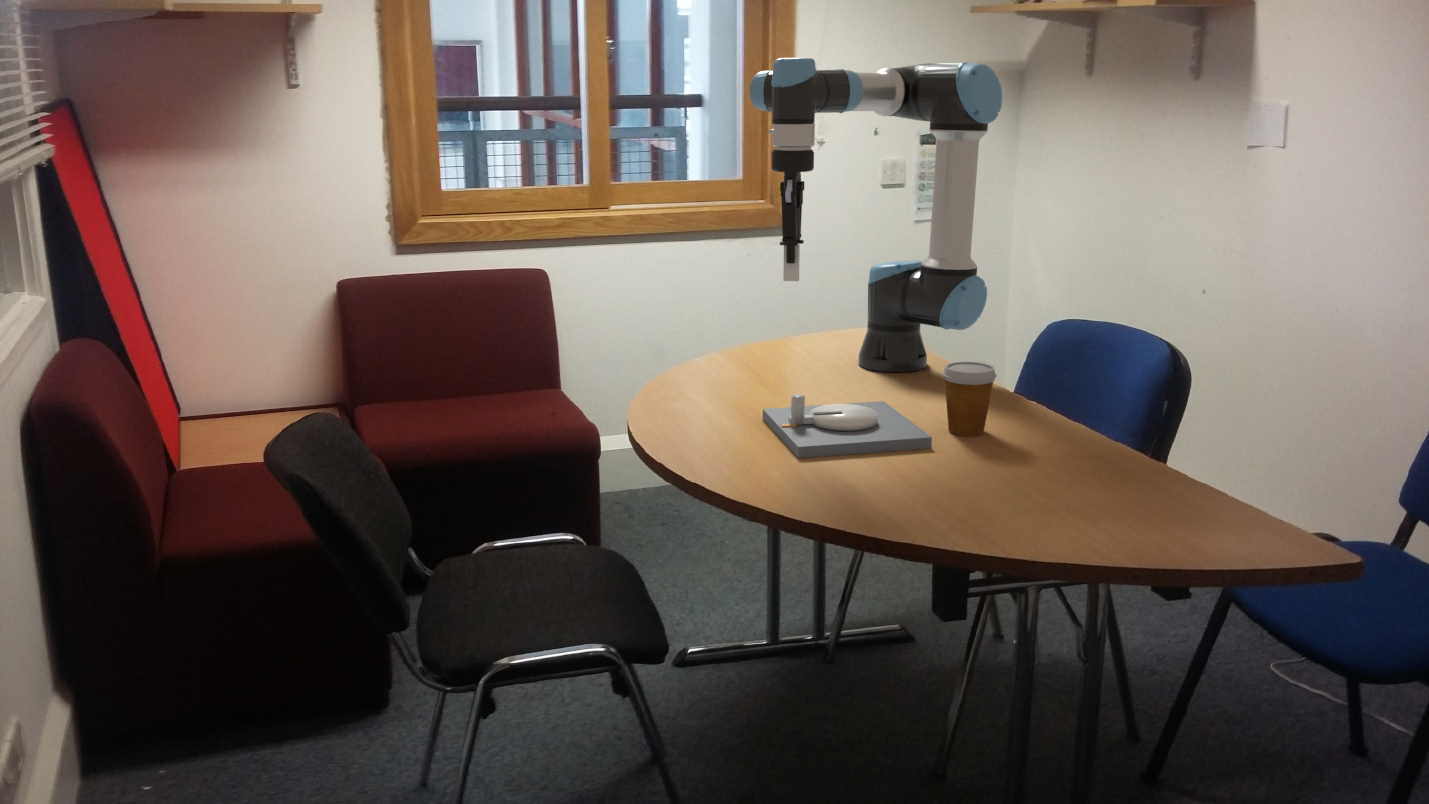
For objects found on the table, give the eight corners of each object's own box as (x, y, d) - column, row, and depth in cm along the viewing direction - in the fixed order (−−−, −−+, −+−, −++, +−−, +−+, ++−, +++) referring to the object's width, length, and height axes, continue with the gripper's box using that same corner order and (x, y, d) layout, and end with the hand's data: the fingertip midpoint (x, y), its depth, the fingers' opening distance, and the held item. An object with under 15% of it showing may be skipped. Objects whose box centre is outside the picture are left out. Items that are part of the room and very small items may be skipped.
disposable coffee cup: (993, 440, 206) (997, 374, 203) (938, 437, 208) (942, 372, 204) (992, 425, 215) (996, 362, 212) (939, 422, 217) (942, 359, 213)
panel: (883, 411, 224) (883, 399, 224) (931, 448, 202) (931, 435, 201) (762, 419, 219) (762, 407, 219) (798, 458, 197) (798, 445, 196)
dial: (867, 410, 216) (868, 384, 215) (885, 428, 205) (886, 401, 204) (782, 414, 214) (783, 388, 213) (796, 433, 203) (796, 405, 202)
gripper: (776, 146, 213) (775, 274, 219) (766, 150, 201) (765, 285, 207) (817, 146, 212) (815, 275, 218) (809, 150, 199) (807, 287, 206)
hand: (791, 280), depth 212 cm, fingers closed
